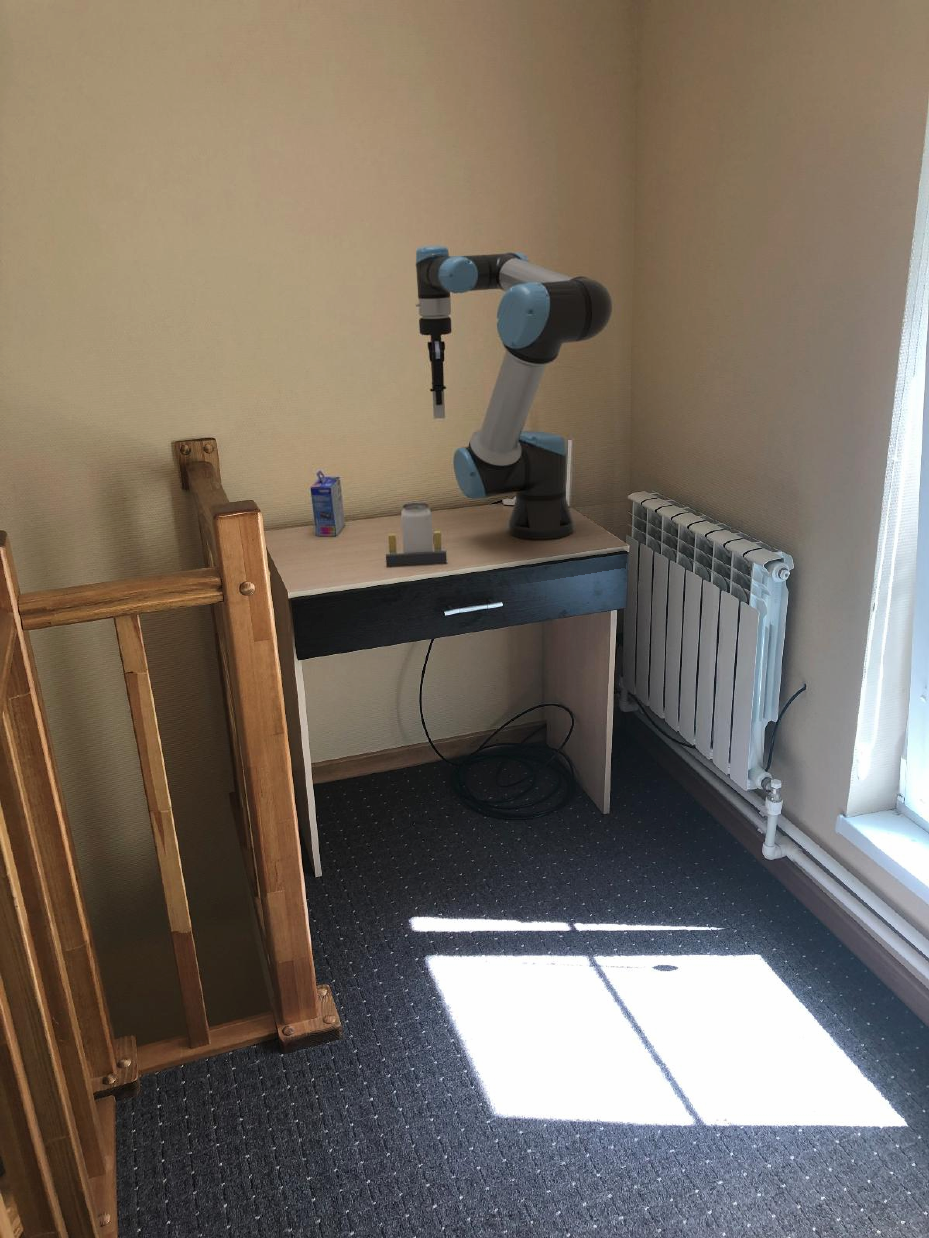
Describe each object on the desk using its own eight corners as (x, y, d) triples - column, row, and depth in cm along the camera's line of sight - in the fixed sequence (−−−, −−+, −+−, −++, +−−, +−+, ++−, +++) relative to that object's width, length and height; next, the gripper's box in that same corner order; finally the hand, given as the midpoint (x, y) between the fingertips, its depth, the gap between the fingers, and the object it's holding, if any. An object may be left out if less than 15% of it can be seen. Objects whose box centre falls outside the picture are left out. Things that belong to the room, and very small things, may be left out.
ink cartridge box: (323, 524, 253) (318, 467, 248) (345, 524, 252) (340, 466, 247) (314, 536, 244) (308, 477, 239) (337, 536, 243) (331, 476, 238)
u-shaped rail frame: (441, 537, 240) (440, 516, 238) (446, 563, 222) (445, 541, 220) (386, 540, 239) (384, 520, 237) (386, 567, 221) (385, 544, 219)
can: (438, 559, 225) (436, 506, 220) (413, 565, 221) (410, 511, 217) (423, 552, 230) (420, 500, 225) (398, 558, 226) (395, 505, 222)
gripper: (417, 314, 245) (422, 413, 254) (419, 320, 233) (424, 423, 242) (449, 313, 246) (453, 412, 254) (452, 318, 234) (456, 422, 242)
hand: (439, 417), depth 248 cm, fingers closed
